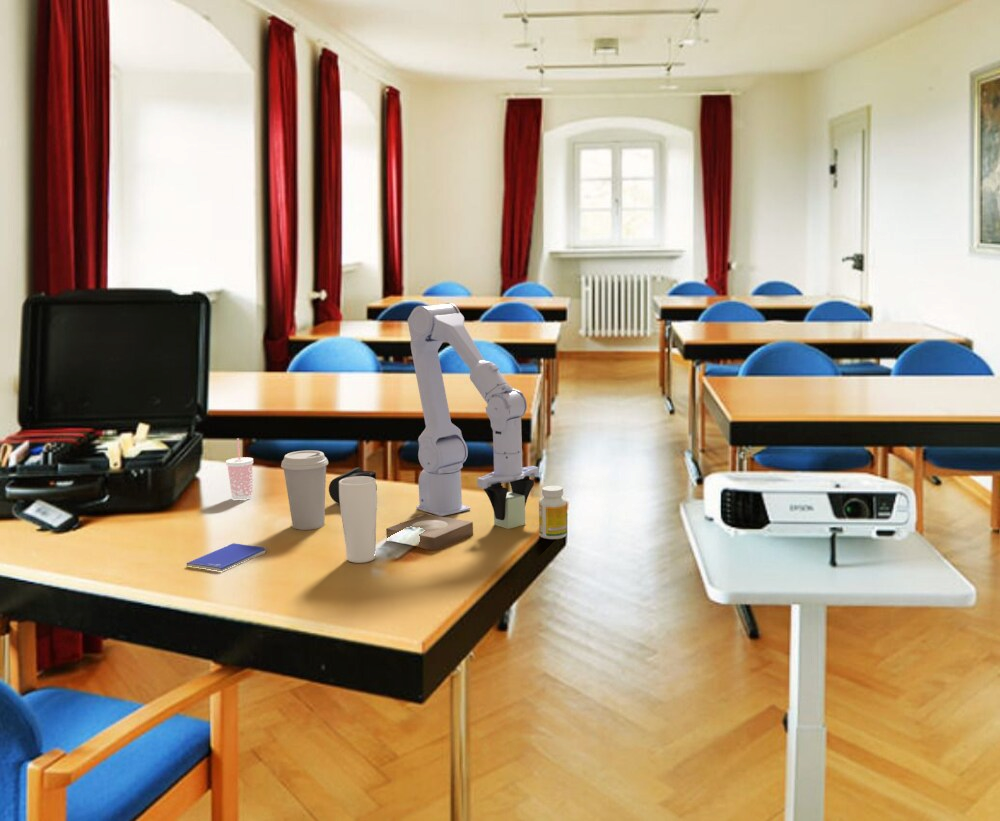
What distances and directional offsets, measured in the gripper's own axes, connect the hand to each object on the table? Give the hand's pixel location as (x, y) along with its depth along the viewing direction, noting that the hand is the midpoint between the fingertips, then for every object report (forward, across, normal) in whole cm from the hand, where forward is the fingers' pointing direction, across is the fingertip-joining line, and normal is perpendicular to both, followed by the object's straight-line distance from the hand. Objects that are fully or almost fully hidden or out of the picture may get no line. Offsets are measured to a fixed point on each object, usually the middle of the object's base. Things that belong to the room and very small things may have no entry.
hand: (509, 516), depth 207 cm
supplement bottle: (+2, +1, -12) cm, 12 cm away
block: (+2, 0, 0) cm, 2 cm away
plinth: (+2, -17, +4) cm, 18 cm away
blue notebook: (+2, -52, +20) cm, 56 cm away
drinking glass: (+2, -34, +2) cm, 34 cm away
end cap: (+2, -13, +39) cm, 41 cm away
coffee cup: (+2, -30, +29) cm, 42 cm away
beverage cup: (+2, -30, +60) cm, 67 cm away
